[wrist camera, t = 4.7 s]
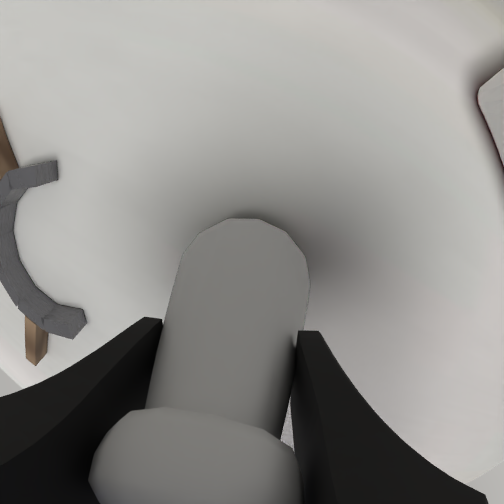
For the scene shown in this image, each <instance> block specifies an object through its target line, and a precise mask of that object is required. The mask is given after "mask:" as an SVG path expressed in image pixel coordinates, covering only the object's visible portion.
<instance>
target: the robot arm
mask: <svg viewBox="0 0 504 504" xmlns="http://www.w3.org/2000/svg"><path fill="white" fill-rule="evenodd" d="M162 328H163V323H162V319H157V318H150V317H143V318H142V319H140V320H139V321H137V322H136V323H134V324H133V325H131V326H130V327H129V328H127V329H126V330H124V331H123V332H122V333H120V334H119V335H117V336H116V337H115V338H113V339H112V340H110V341H109V342H107V343H106V344H104V345H103V346H102V347H100V348H99V349H97V350H96V351H94V352H93V353H91V354H90V355H88V356H86V357H85V358H83V359H82V360H80V361H79V362H77V363H75V364H74V365H72V366H71V367H69V368H67V369H65V370H64V371H62V372H60V373H58V374H56V375H54V376H52V377H50V378H48V379H46V380H44V381H42V382H40V383H38V384H35V385H33V386H30V387H28V388H25V389H23V390H20V391H18V392H15V393H12V394H9V395H6V396H3V397H0V504H100V503H99V501H98V499H97V497H96V495H95V493H94V491H93V490H92V488H91V486H90V484H89V481H88V478H89V473H90V469H91V465H92V460H93V456H94V453H95V451H96V450H97V448H98V446H99V445H100V443H101V441H102V440H103V438H104V436H105V435H106V433H107V432H108V431H109V430H110V429H111V428H112V427H113V426H114V425H115V424H116V423H117V422H118V421H119V420H120V419H122V418H123V417H124V416H125V415H126V414H128V413H129V412H130V411H134V410H143V409H145V405H146V400H147V395H148V390H149V385H150V380H151V376H152V371H153V367H154V362H155V358H156V353H157V349H158V345H159V340H160V336H161V332H162ZM290 406H291V417H292V428H293V439H294V450H295V456H296V459H297V461H298V464H299V467H300V470H301V473H302V476H303V482H304V498H305V504H488V501H487V498H486V496H485V494H483V493H481V492H479V491H477V490H475V489H473V488H471V487H469V486H467V485H465V484H463V483H461V482H459V481H458V480H456V479H454V478H452V477H451V476H449V475H448V474H446V473H445V472H443V471H442V470H440V469H439V468H437V467H436V466H434V465H433V464H431V463H430V462H429V461H427V460H426V459H425V458H424V457H422V456H421V455H420V454H419V453H417V452H416V451H415V450H414V449H413V448H411V447H410V446H409V445H408V444H406V443H405V442H404V441H403V440H402V439H401V438H400V437H399V436H398V435H397V434H396V433H395V432H394V431H393V430H392V429H391V428H390V427H389V426H388V425H387V424H386V423H385V422H384V421H383V420H382V419H381V418H380V417H379V416H378V415H377V414H376V412H375V411H374V410H373V409H372V408H371V407H370V405H369V404H368V403H367V402H366V400H365V399H364V398H363V397H362V395H361V394H360V393H359V392H358V390H357V389H356V388H355V386H354V385H353V384H352V382H351V381H350V379H349V378H348V376H347V375H346V374H345V372H344V371H343V369H342V368H341V366H340V365H339V363H338V362H337V360H336V358H335V357H334V355H333V354H332V352H331V350H330V349H329V347H328V345H327V344H326V342H325V340H324V338H323V337H322V335H321V333H320V332H319V331H303V330H298V335H297V342H296V371H295V376H294V381H293V386H292V390H291V402H290Z"/></svg>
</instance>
